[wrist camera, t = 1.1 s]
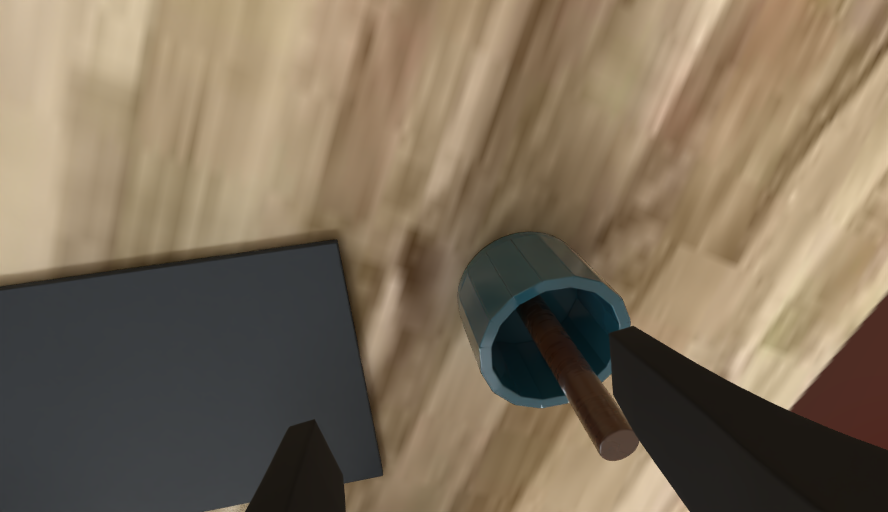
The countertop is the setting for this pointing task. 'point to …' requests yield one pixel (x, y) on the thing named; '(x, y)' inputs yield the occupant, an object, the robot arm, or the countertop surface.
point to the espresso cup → (503, 332)
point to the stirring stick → (579, 382)
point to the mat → (177, 381)
